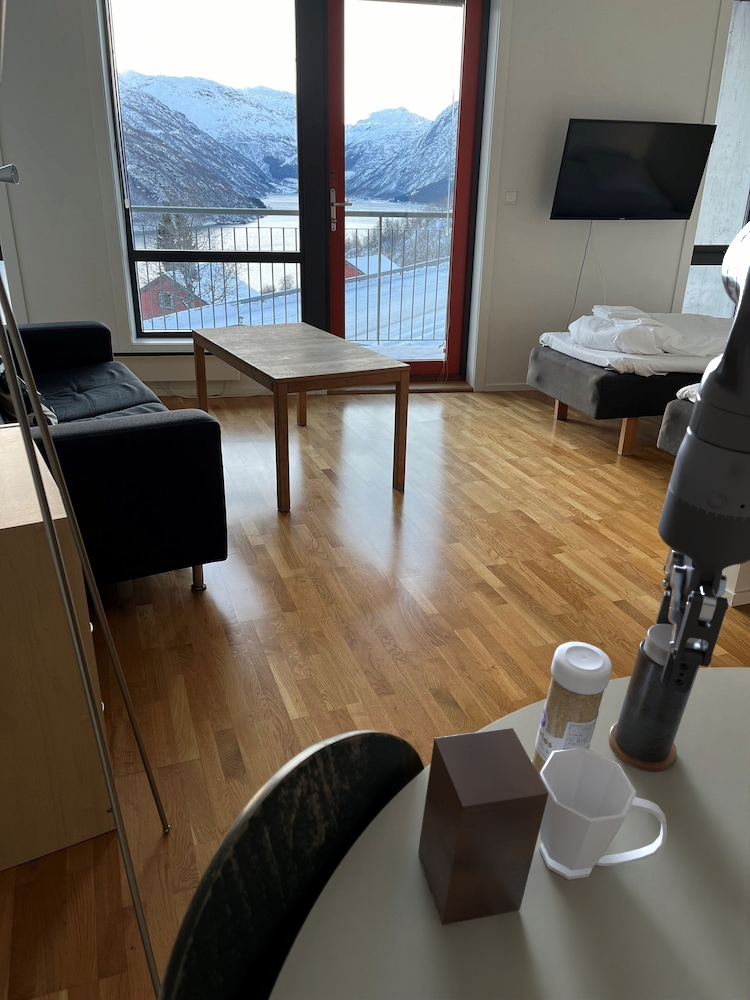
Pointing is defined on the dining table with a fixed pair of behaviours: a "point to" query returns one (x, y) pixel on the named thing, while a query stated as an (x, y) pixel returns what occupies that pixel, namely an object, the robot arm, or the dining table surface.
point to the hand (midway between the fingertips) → (670, 656)
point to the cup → (588, 813)
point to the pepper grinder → (651, 702)
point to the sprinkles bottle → (572, 700)
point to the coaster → (637, 763)
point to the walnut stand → (480, 824)
